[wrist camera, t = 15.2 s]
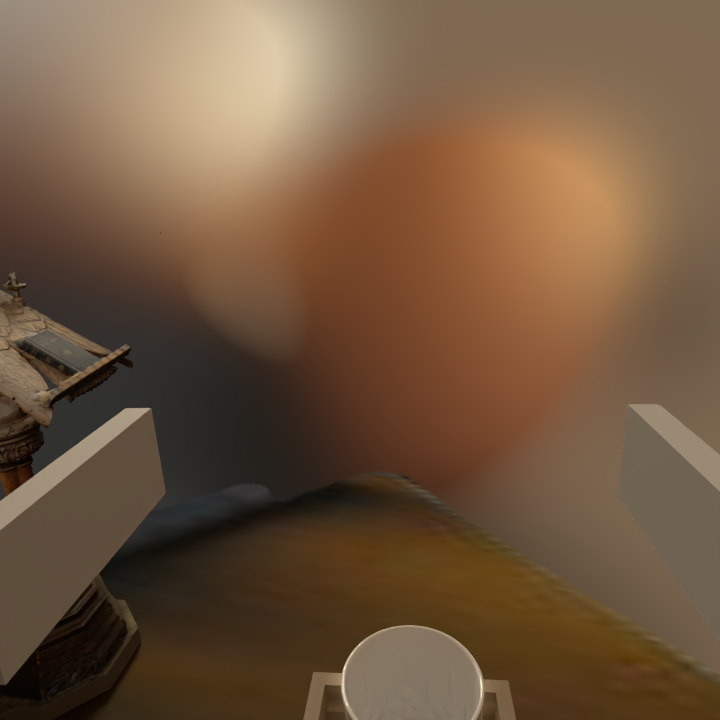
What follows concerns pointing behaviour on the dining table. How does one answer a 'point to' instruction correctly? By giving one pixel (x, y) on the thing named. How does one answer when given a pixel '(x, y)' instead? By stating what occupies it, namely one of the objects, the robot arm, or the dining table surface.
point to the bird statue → (13, 465)
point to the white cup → (412, 677)
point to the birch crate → (328, 711)
